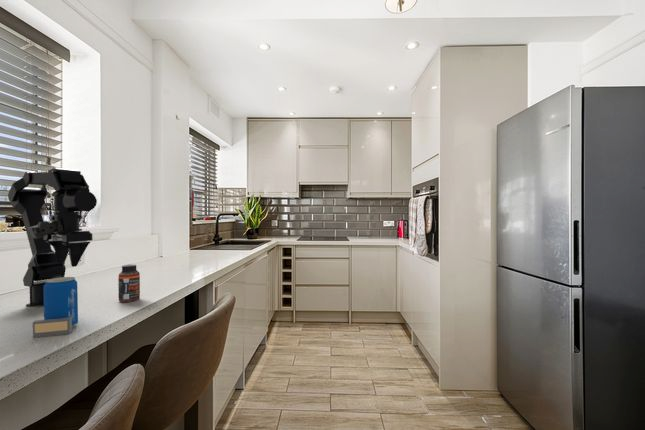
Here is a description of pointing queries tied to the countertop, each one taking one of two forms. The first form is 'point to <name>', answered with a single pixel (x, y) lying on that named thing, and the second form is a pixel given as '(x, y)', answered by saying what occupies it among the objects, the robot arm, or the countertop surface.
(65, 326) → the rail
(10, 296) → the countertop surface
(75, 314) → the beverage can
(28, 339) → the countertop surface
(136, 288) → the supplement bottle
